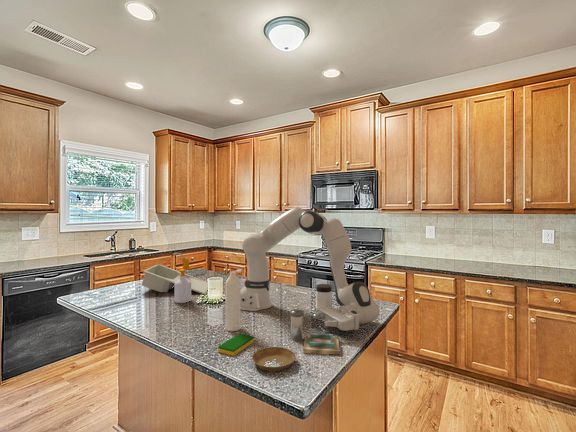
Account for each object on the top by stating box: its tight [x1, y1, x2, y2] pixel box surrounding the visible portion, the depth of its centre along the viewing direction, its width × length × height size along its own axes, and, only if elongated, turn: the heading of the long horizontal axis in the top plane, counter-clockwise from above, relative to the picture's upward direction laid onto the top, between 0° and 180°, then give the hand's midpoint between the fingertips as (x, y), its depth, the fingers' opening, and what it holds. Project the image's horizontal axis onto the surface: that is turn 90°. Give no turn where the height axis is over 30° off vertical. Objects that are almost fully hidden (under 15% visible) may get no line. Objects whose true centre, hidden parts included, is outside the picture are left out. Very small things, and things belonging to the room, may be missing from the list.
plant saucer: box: [251, 346, 297, 372], centre depth 106 cm, size 15×15×3 cm
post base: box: [302, 332, 341, 355], centre depth 119 cm, size 13×13×3 cm
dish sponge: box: [217, 333, 255, 357], centre depth 119 cm, size 7×14×2 cm, turn 153°
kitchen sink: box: [141, 252, 208, 295], centre depth 202 cm, size 24×40×25 cm, turn 91°
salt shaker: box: [289, 308, 304, 342], centre depth 126 cm, size 5×5×11 cm
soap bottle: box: [173, 257, 192, 304], centre depth 176 cm, size 9×9×25 cm
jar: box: [315, 283, 333, 311], centre depth 165 cm, size 9×8×12 cm
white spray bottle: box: [224, 268, 243, 332], centre depth 137 cm, size 9×6×25 cm
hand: (319, 320), depth 131 cm, fingers open, 8 cm apart
